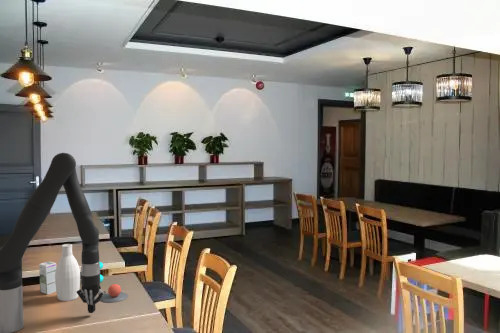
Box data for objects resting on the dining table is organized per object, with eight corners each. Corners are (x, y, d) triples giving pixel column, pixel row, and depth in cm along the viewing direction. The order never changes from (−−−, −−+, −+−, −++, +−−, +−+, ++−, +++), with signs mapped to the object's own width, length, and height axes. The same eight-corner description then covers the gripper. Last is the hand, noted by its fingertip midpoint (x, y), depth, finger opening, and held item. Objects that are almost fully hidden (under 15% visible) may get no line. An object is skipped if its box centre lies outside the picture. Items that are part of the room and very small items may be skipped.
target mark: (102, 304, 194) (102, 304, 194) (96, 295, 205) (96, 295, 205) (131, 299, 201) (131, 298, 201) (123, 290, 212) (123, 290, 212)
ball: (110, 283, 201) (116, 279, 207) (103, 292, 202) (109, 288, 208) (119, 292, 200) (125, 288, 206) (112, 301, 201) (118, 296, 207)
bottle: (85, 294, 207) (84, 242, 206) (73, 302, 196) (72, 248, 194) (63, 293, 208) (62, 241, 207) (50, 301, 197) (49, 247, 196)
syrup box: (57, 291, 211) (56, 262, 210) (46, 295, 206) (45, 265, 205) (50, 289, 214) (49, 260, 213) (39, 292, 209) (38, 263, 208)
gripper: (109, 271, 183) (110, 310, 184) (82, 268, 186) (83, 307, 187) (99, 276, 176) (100, 317, 177) (71, 274, 179) (72, 314, 180)
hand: (91, 312), depth 182 cm, fingers closed
